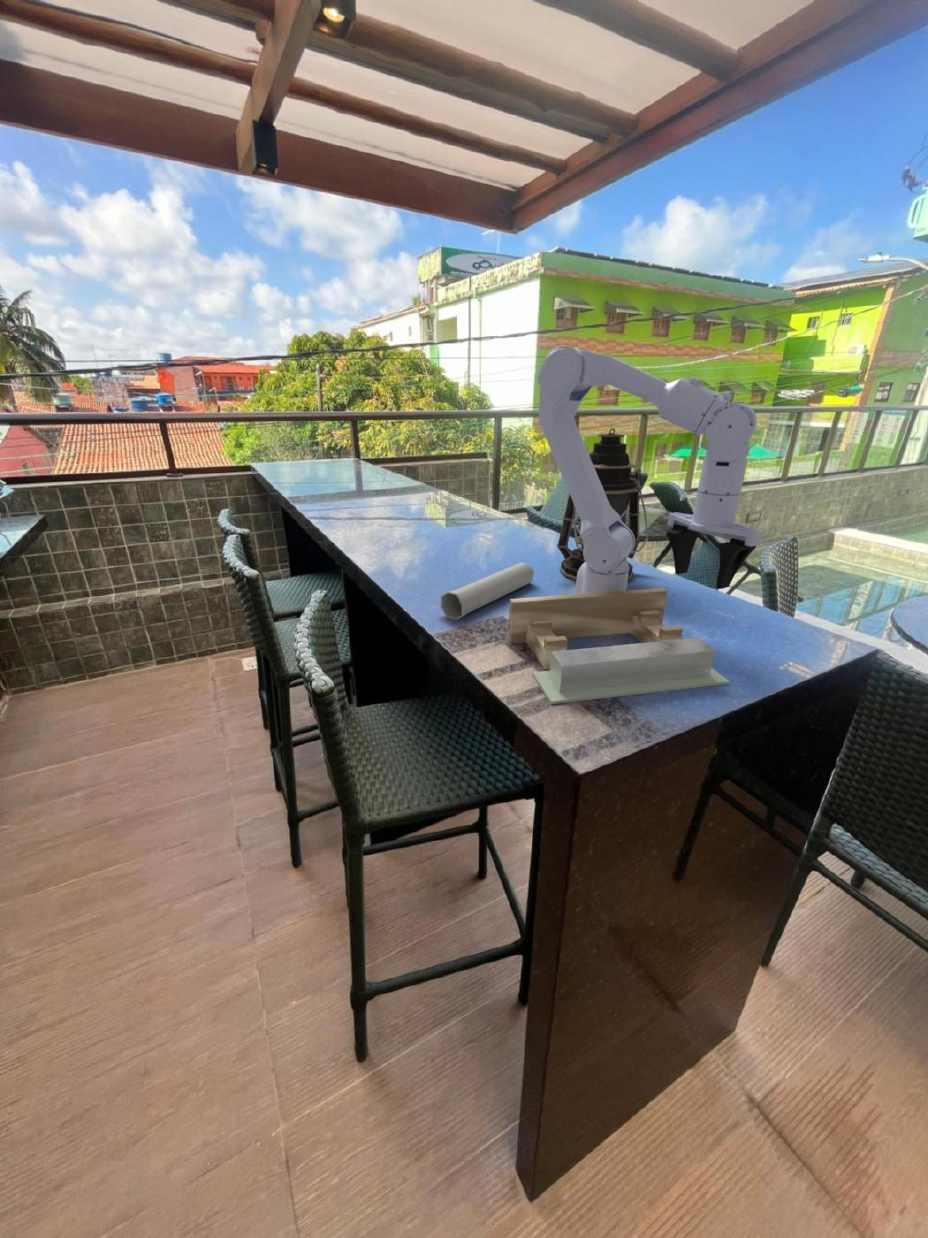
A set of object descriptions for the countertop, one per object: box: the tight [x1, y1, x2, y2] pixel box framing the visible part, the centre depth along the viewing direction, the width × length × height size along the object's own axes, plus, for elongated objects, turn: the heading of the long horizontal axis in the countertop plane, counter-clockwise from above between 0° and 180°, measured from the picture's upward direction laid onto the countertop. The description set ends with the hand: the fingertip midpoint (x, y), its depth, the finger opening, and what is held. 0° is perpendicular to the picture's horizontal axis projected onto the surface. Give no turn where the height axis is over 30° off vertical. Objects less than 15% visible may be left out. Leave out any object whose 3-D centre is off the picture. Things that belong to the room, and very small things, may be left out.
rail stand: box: [508, 587, 684, 671], centre depth 78 cm, size 10×26×7 cm, turn 101°
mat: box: [531, 667, 730, 705], centre depth 70 cm, size 8×26×1 cm, turn 101°
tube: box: [440, 562, 535, 621], centre depth 97 cm, size 5×5×25 cm
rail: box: [549, 637, 717, 693], centre depth 69 cm, size 4×22×4 cm, turn 101°
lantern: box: [556, 428, 649, 582], centre depth 106 cm, size 20×16×30 cm
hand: (701, 579), depth 80 cm, fingers open, 7 cm apart
